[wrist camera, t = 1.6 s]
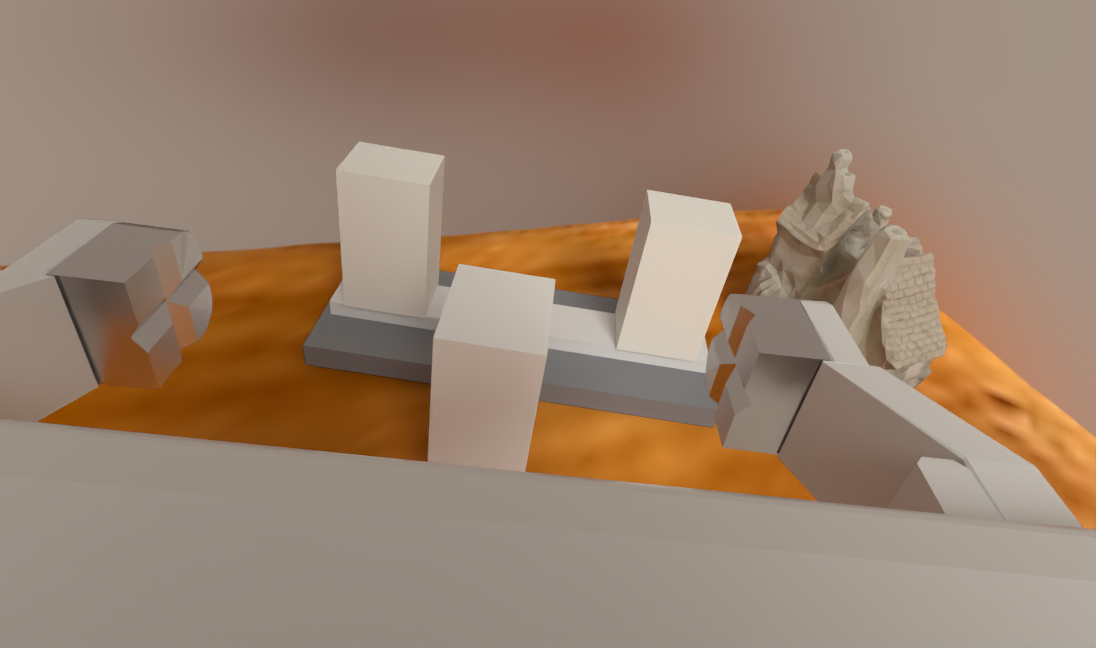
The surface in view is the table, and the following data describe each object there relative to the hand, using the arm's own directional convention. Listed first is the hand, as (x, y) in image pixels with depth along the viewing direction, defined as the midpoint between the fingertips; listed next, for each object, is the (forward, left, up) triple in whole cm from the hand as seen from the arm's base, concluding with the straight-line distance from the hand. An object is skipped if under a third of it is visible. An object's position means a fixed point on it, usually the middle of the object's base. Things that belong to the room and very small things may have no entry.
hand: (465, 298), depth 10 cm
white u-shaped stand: (+1, +25, -21) cm, 33 cm away
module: (0, +14, -21) cm, 25 cm away
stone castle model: (+24, +29, -21) cm, 44 cm away
